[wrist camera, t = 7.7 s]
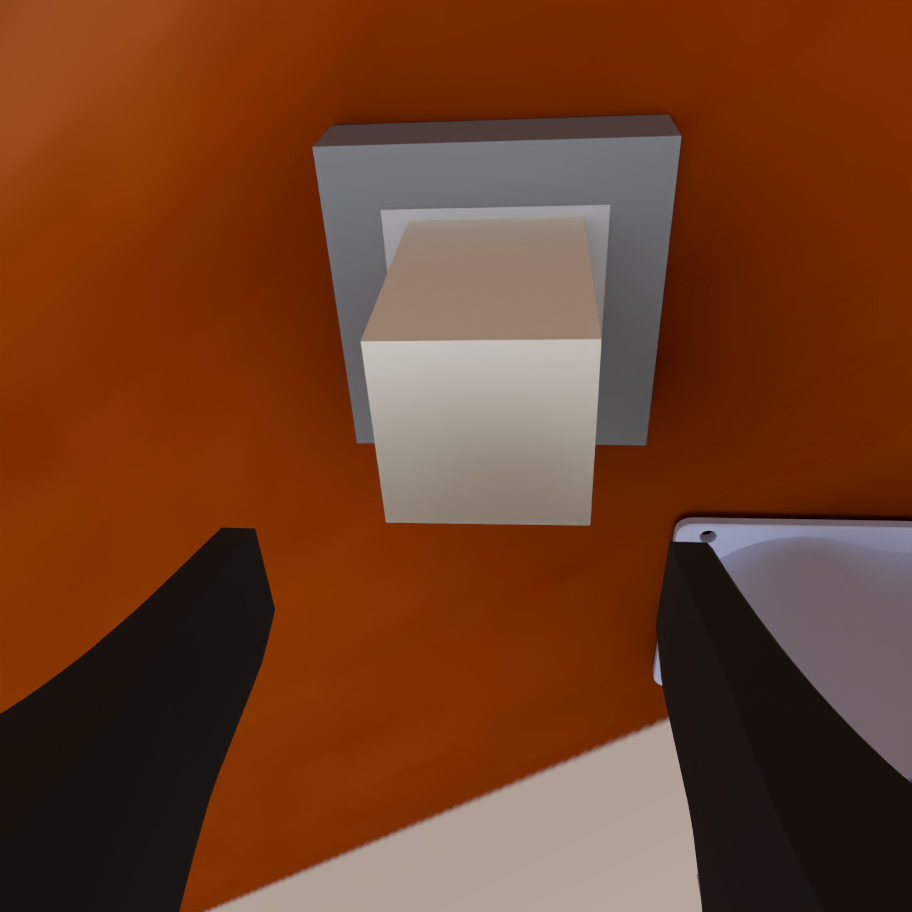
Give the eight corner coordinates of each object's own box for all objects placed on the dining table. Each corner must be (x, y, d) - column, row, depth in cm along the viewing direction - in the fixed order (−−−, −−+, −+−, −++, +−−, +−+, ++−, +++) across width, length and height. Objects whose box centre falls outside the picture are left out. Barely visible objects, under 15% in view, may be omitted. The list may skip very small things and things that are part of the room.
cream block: (583, 216, 17) (601, 338, 13) (577, 371, 20) (590, 525, 15) (408, 220, 18) (360, 341, 13) (422, 372, 20) (386, 522, 15)
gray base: (668, 114, 18) (682, 136, 16) (638, 406, 23) (646, 447, 21) (331, 125, 19) (311, 148, 17) (369, 405, 23) (356, 444, 22)
